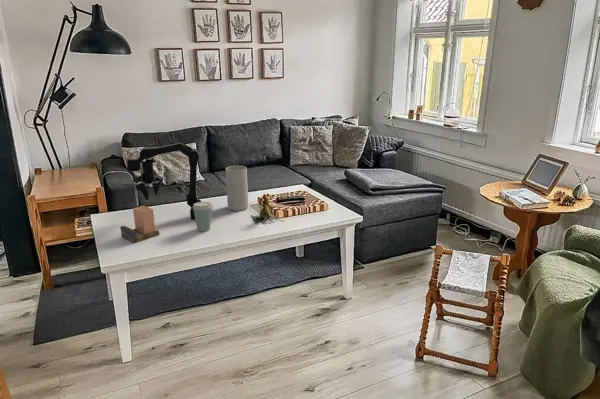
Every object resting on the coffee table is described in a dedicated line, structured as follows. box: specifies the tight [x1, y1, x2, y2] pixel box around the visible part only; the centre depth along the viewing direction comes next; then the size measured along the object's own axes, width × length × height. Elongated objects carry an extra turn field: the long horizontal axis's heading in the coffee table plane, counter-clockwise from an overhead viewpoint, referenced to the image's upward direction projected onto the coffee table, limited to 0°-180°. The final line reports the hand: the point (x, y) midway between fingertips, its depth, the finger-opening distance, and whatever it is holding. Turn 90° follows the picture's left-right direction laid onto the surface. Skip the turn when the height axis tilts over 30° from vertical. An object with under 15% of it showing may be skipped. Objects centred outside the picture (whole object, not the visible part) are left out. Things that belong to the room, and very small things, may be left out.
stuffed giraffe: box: [250, 193, 285, 226], centre depth 257 cm, size 16×18×16 cm
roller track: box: [120, 225, 160, 244], centre depth 233 cm, size 14×12×6 cm
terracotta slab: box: [132, 205, 156, 234], centre depth 233 cm, size 6×9×12 cm, turn 49°
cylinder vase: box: [225, 165, 249, 212], centre depth 271 cm, size 12×12×25 cm
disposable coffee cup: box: [193, 201, 214, 232], centre depth 240 cm, size 11×11×15 cm
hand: (151, 197), depth 251 cm, fingers open, 9 cm apart
